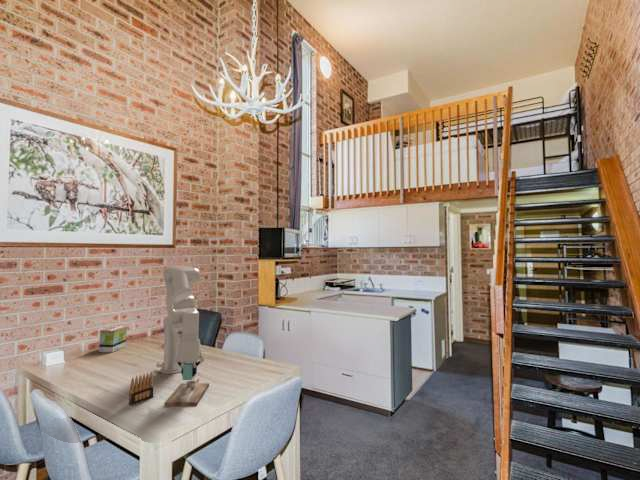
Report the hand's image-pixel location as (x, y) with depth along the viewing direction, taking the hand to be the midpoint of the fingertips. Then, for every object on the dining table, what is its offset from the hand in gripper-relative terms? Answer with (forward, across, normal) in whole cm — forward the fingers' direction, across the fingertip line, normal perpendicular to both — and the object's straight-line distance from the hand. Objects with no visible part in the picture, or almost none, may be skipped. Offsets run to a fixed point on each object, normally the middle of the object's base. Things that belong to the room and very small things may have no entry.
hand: (188, 375), depth 162 cm
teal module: (+1, 0, 0) cm, 1 cm away
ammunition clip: (+10, -20, -5) cm, 22 cm away
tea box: (+9, -75, +78) cm, 108 cm away
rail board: (+10, 0, 0) cm, 10 cm away
